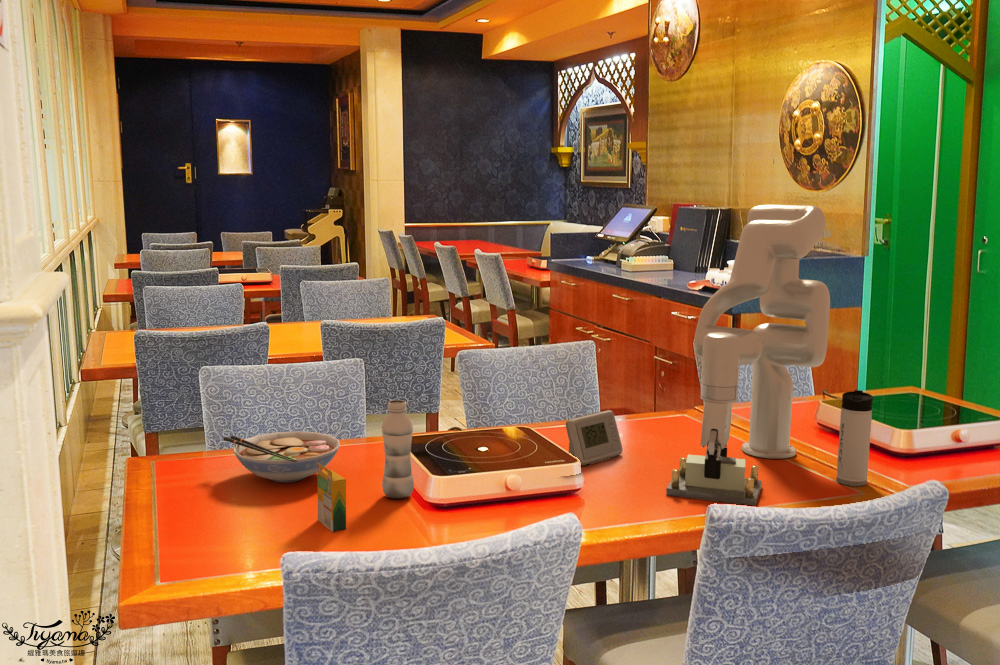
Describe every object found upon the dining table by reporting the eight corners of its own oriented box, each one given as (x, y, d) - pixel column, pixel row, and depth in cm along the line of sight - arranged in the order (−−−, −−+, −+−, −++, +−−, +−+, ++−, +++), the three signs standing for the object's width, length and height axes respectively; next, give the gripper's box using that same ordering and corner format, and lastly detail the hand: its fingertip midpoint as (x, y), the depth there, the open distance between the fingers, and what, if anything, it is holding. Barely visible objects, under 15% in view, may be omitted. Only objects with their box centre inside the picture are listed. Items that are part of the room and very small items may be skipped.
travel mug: (867, 479, 202) (874, 391, 199) (865, 488, 196) (872, 397, 193) (837, 475, 204) (843, 388, 201) (834, 484, 198) (841, 394, 195)
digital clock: (576, 469, 208) (577, 423, 206) (554, 459, 215) (554, 415, 213) (632, 458, 216) (633, 415, 214) (608, 449, 224) (609, 407, 222)
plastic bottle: (389, 504, 183) (388, 407, 180) (377, 494, 189) (376, 400, 186) (418, 499, 186) (418, 403, 183) (406, 489, 192) (406, 396, 189)
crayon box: (347, 529, 169) (346, 469, 168) (332, 532, 168) (331, 472, 166) (332, 517, 175) (330, 459, 174) (317, 520, 174) (316, 461, 172)
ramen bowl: (365, 478, 199) (364, 442, 198) (275, 503, 183) (274, 464, 181) (298, 455, 216) (297, 421, 215) (210, 476, 200) (209, 440, 198)
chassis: (677, 477, 202) (678, 455, 201) (761, 487, 196) (762, 464, 195) (666, 495, 190) (667, 471, 189) (755, 506, 184) (756, 482, 183)
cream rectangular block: (686, 476, 197) (687, 451, 196) (744, 482, 194) (745, 456, 193) (684, 485, 192) (686, 459, 191) (743, 490, 188) (745, 464, 188)
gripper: (707, 382, 199) (703, 458, 202) (694, 399, 183) (690, 481, 186) (742, 385, 196) (738, 462, 199) (732, 402, 180) (728, 485, 183)
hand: (715, 471), depth 192 cm, fingers open, 9 cm apart
